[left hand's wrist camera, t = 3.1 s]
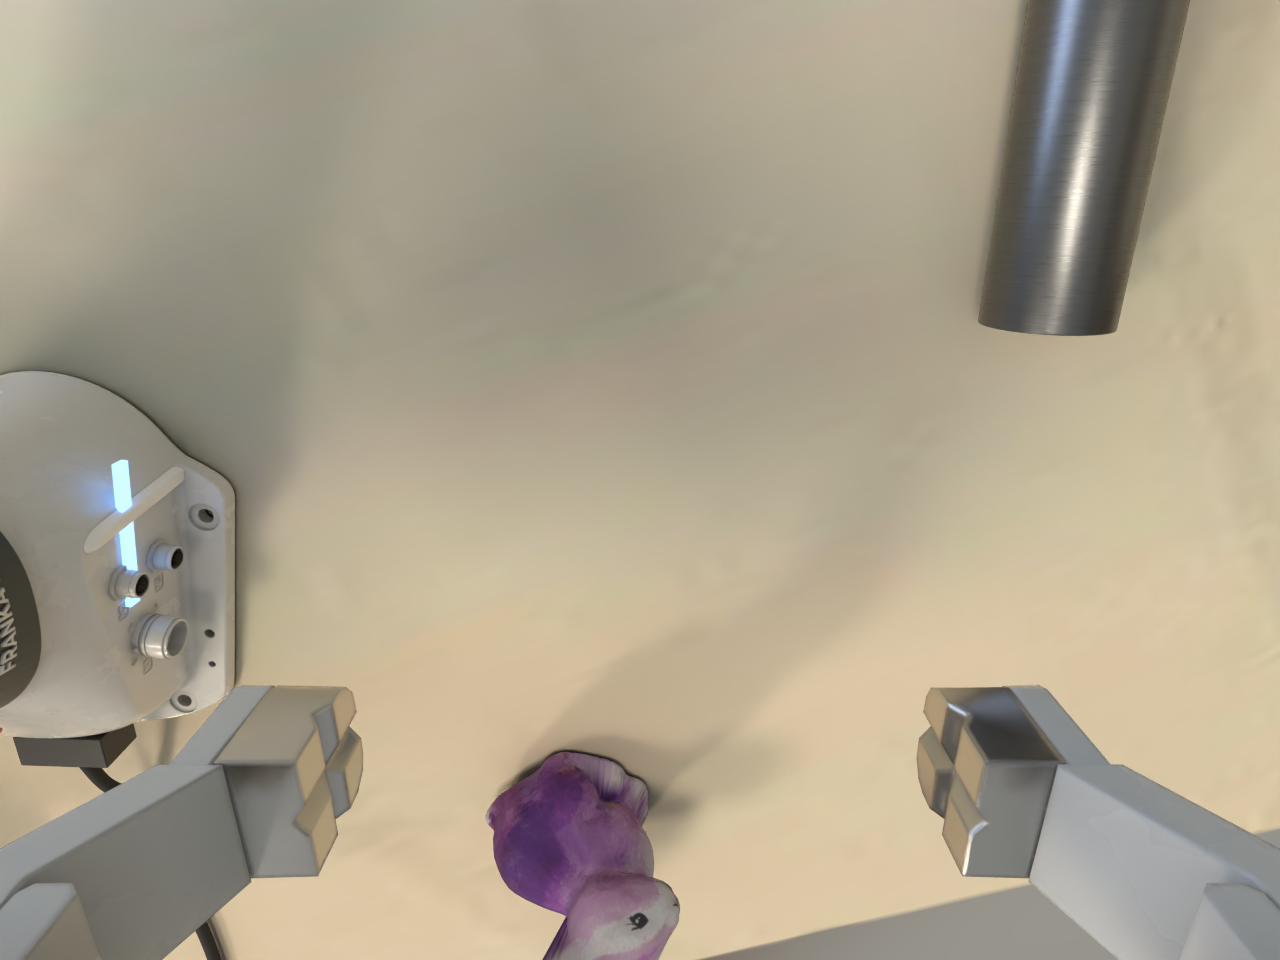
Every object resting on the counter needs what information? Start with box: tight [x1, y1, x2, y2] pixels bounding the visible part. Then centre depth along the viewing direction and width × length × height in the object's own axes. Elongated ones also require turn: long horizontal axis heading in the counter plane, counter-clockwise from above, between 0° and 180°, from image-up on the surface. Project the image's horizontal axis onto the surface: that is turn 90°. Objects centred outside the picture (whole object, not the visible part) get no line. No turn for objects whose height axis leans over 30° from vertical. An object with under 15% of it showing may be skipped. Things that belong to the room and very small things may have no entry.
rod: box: [978, 0, 1190, 336], centre depth 32 cm, size 27×6×6 cm, turn 0°
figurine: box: [486, 752, 680, 960], centre depth 43 cm, size 9×10×15 cm
